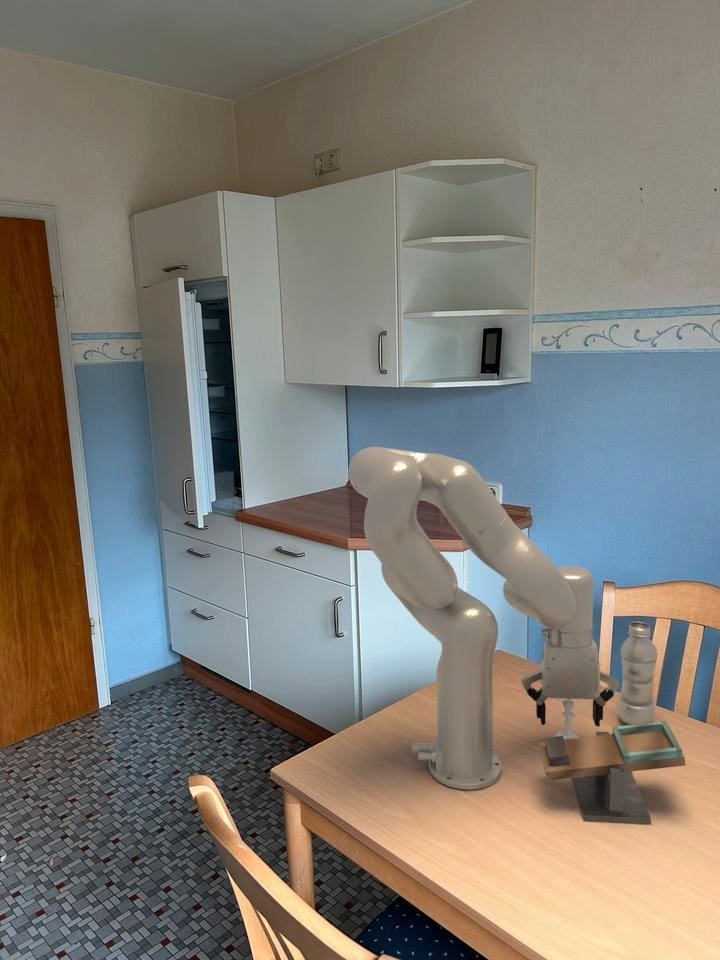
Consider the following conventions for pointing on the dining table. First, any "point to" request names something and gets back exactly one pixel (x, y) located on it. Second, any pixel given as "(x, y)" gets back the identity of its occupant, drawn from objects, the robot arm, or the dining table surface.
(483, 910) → the dining table surface
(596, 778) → the stand
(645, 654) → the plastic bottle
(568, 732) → the chess piece
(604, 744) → the balance beam
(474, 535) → the robot arm
